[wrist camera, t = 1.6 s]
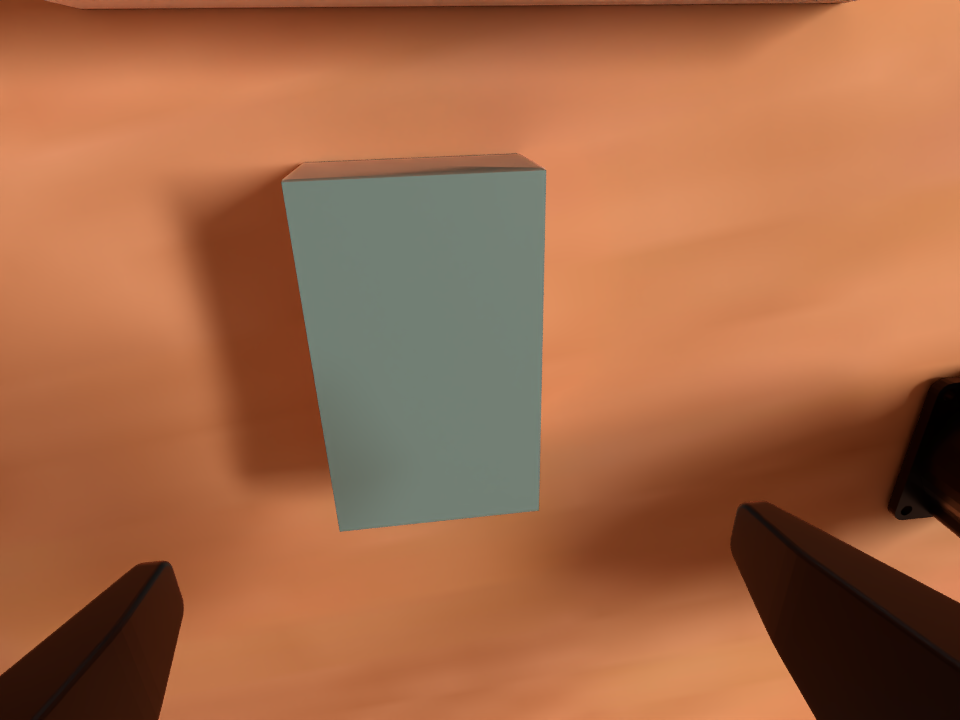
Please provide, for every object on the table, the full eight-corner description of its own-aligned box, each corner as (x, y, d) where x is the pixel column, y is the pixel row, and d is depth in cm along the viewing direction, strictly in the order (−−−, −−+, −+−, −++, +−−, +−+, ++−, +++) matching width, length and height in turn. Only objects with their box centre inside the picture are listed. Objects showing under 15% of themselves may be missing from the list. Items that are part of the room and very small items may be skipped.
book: (516, 439, 21) (540, 510, 18) (348, 454, 21) (338, 531, 17) (516, 152, 17) (548, 169, 14) (304, 161, 16) (279, 182, 13)
